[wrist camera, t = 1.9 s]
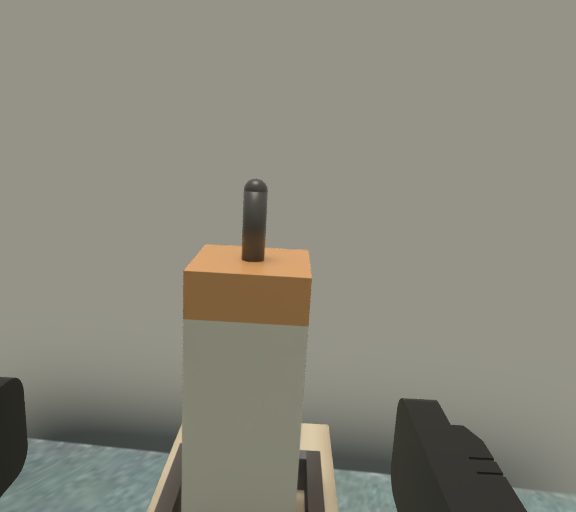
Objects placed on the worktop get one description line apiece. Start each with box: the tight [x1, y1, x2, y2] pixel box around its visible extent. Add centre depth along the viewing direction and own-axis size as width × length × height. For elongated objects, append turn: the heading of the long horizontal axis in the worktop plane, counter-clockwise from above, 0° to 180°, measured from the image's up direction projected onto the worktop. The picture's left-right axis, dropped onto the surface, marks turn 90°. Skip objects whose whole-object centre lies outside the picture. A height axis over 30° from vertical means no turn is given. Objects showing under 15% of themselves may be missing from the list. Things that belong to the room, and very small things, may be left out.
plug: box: [181, 179, 312, 512], centre depth 23 cm, size 5×5×18 cm
